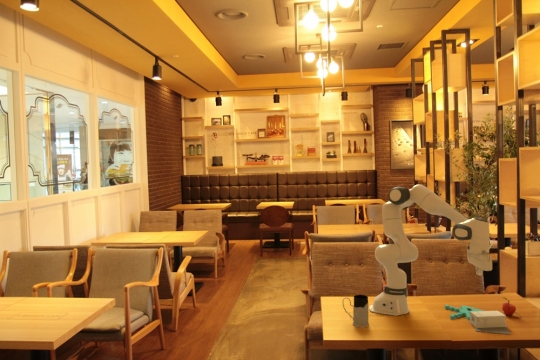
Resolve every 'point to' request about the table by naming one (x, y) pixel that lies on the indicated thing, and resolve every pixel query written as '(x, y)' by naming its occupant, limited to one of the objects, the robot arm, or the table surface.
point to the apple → (508, 308)
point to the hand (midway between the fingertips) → (479, 275)
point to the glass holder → (360, 311)
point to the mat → (494, 330)
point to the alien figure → (461, 311)
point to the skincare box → (487, 319)
